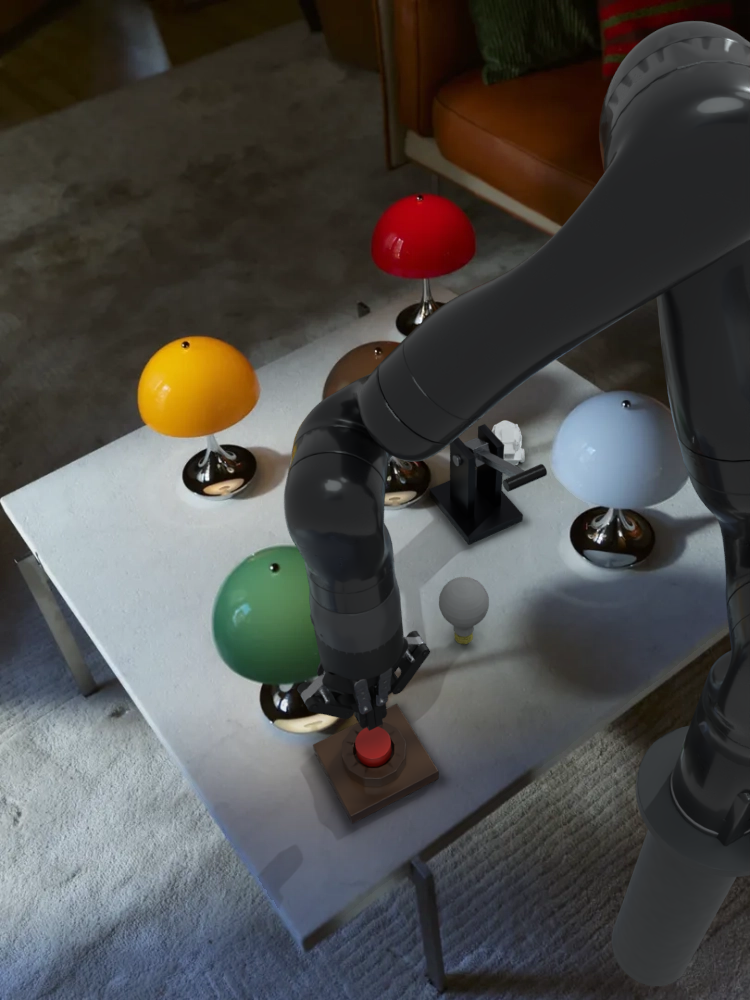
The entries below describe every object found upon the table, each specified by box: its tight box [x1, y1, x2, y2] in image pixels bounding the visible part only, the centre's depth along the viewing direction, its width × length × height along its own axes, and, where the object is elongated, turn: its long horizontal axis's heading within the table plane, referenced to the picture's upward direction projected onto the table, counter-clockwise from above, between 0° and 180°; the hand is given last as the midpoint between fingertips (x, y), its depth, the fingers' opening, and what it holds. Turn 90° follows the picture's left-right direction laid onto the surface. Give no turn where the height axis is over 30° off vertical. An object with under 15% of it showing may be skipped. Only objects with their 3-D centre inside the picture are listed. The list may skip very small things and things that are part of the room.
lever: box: [463, 437, 548, 493], centre depth 111 cm, size 13×5×2 cm, turn 27°
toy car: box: [491, 419, 526, 466], centre depth 128 cm, size 5×8×4 cm, turn 178°
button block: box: [312, 703, 440, 824], centre depth 97 cm, size 9×10×4 cm
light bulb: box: [438, 576, 490, 645], centre depth 105 cm, size 6×6×10 cm
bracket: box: [428, 423, 524, 545], centre depth 118 cm, size 10×8×12 cm
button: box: [355, 727, 392, 767], centre depth 96 cm, size 4×4×2 cm
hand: (371, 720), depth 92 cm, fingers closed
